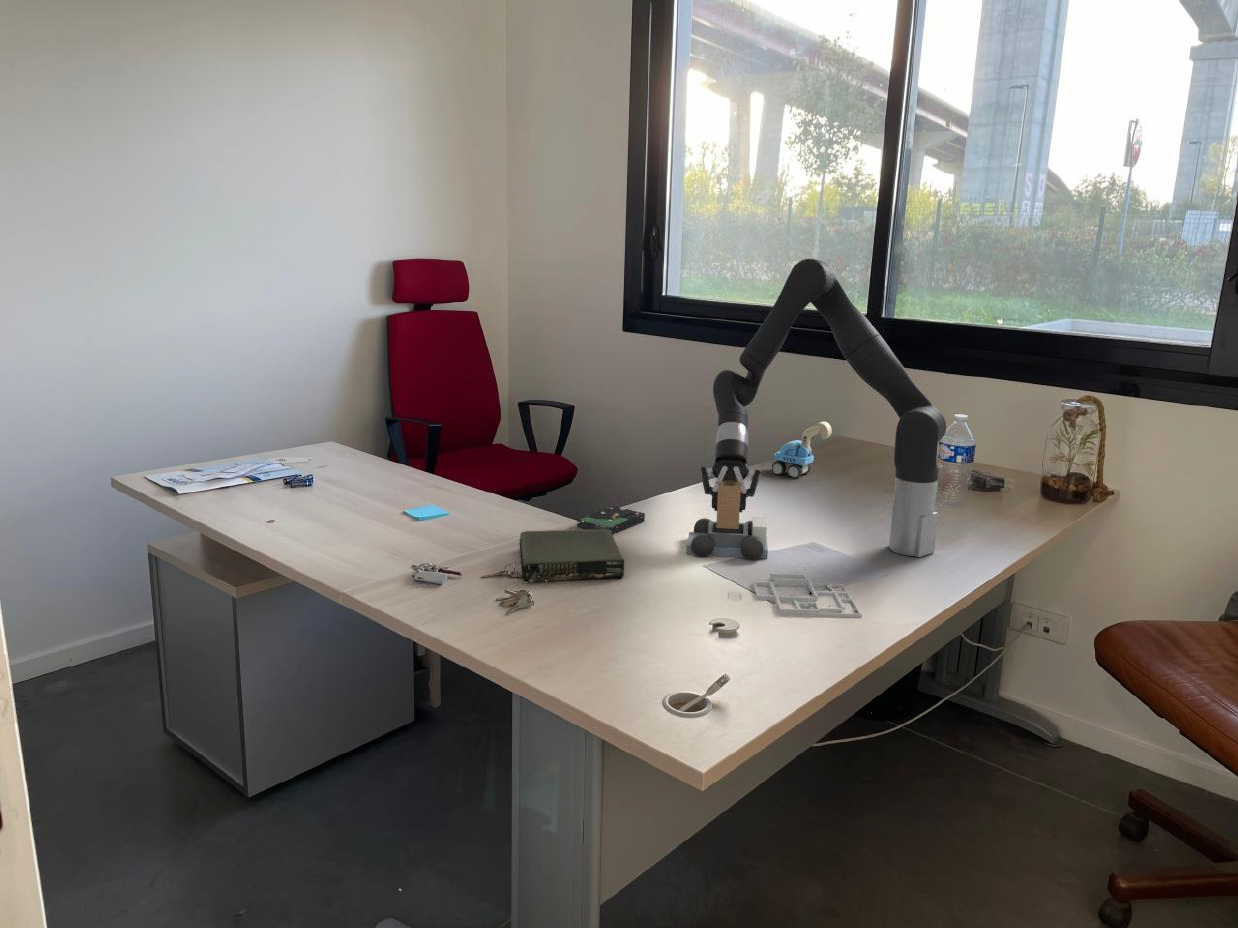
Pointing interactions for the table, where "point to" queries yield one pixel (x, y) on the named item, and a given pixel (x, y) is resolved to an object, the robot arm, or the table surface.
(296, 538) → the table surface
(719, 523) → the brown rectangular block
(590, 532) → the network switch
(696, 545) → the chassis
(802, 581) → the floor plan model
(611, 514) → the disk drive
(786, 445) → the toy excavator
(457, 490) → the table surface
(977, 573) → the table surface
